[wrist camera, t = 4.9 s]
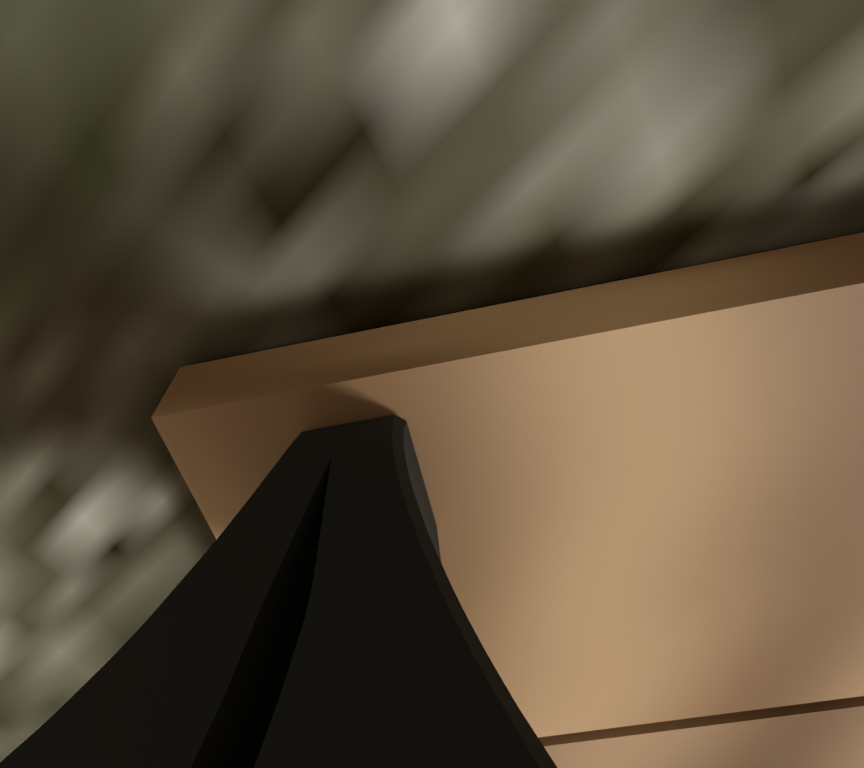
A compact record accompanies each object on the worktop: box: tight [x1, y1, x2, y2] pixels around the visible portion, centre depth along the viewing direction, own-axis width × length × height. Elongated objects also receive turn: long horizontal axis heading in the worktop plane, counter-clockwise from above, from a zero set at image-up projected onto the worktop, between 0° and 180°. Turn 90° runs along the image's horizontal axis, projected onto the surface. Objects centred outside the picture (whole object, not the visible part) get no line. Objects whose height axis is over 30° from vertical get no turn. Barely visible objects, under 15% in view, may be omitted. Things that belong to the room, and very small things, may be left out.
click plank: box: [151, 232, 864, 737], centre depth 10 cm, size 16×8×1 cm, turn 102°
